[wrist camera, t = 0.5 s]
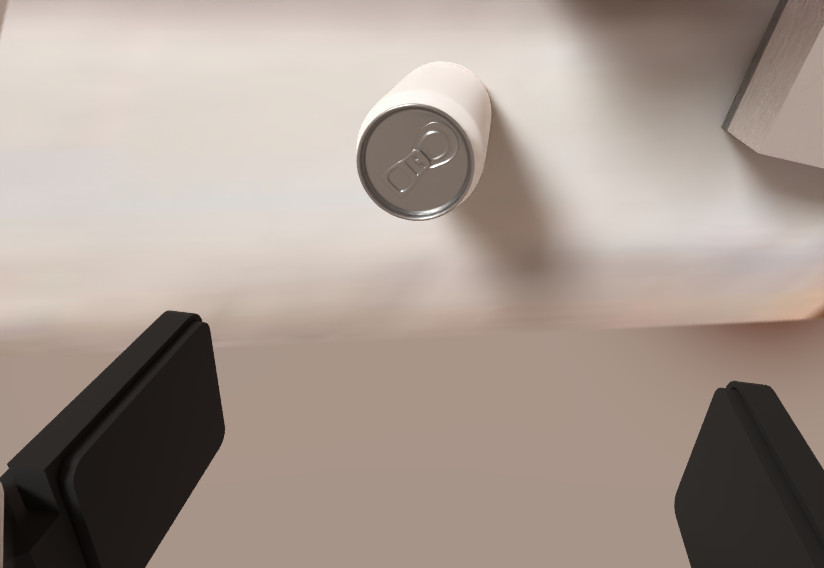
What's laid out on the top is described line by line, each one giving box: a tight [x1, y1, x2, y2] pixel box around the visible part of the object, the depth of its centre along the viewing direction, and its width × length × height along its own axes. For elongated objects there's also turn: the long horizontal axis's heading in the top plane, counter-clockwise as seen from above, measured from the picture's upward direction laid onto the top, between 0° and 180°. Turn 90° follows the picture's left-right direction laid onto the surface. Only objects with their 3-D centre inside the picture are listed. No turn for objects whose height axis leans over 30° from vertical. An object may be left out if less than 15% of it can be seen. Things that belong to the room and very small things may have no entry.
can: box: [356, 62, 491, 221], centre depth 32 cm, size 6×6×12 cm
